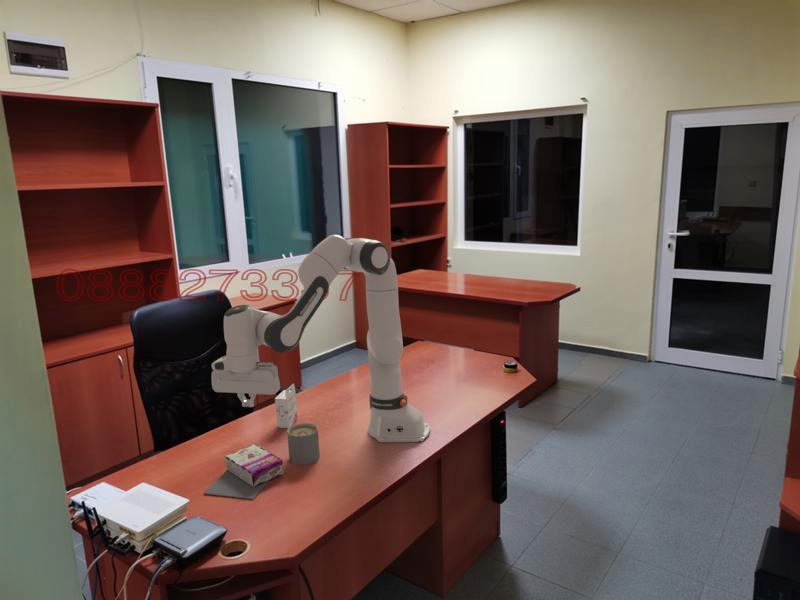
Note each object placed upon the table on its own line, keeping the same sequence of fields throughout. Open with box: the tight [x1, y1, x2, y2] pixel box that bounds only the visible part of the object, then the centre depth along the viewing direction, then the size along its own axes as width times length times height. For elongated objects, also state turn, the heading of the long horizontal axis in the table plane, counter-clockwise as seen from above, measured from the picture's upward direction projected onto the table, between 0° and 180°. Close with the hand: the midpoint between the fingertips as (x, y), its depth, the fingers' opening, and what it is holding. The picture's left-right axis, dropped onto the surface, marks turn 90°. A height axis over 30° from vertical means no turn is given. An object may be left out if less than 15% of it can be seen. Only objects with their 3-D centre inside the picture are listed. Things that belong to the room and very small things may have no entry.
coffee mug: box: [286, 422, 320, 466], centre depth 187 cm, size 13×10×10 cm
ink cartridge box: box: [274, 383, 298, 429], centre depth 211 cm, size 9×5×15 cm, turn 168°
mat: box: [203, 469, 271, 501], centre depth 172 cm, size 16×16×1 cm
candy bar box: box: [224, 443, 285, 487], centre depth 177 cm, size 11×5×16 cm
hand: (248, 406), depth 165 cm, fingers closed
